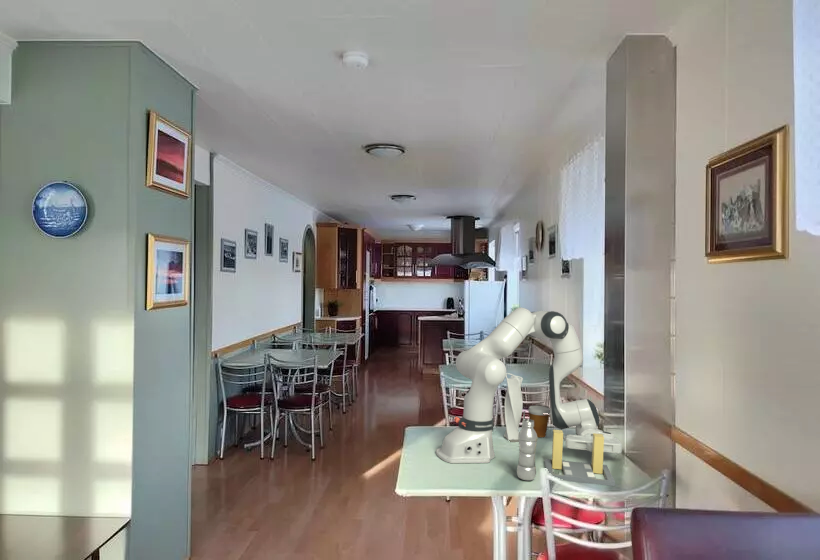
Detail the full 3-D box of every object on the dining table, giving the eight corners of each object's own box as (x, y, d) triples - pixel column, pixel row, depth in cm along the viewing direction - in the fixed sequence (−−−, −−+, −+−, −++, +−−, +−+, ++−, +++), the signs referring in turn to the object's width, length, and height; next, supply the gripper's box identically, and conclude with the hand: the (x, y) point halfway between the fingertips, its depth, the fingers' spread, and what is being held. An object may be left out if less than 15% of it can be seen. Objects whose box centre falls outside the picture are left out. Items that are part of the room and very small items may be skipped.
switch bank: (614, 486, 178) (615, 481, 178) (547, 478, 182) (547, 473, 182) (606, 469, 194) (606, 464, 194) (544, 462, 198) (544, 458, 198)
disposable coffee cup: (540, 440, 225) (541, 411, 225) (522, 434, 232) (523, 407, 232) (554, 436, 231) (554, 408, 231) (535, 431, 238) (536, 404, 238)
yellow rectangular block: (561, 469, 191) (563, 433, 191) (552, 468, 192) (554, 432, 191) (560, 465, 195) (562, 430, 195) (551, 464, 196) (553, 429, 195)
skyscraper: (507, 442, 220) (510, 375, 219) (499, 436, 228) (502, 371, 227) (525, 441, 222) (529, 375, 221) (517, 435, 230) (520, 371, 229)
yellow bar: (602, 473, 188) (604, 437, 188) (592, 472, 189) (594, 436, 189) (600, 469, 192) (602, 434, 192) (591, 468, 193) (592, 433, 193)
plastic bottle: (539, 479, 181) (542, 420, 181) (529, 484, 176) (532, 424, 176) (522, 473, 186) (525, 416, 185) (512, 478, 181) (515, 420, 180)
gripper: (563, 428, 210) (566, 439, 196) (617, 433, 206) (625, 444, 192) (562, 444, 210) (566, 456, 196) (617, 449, 206) (624, 462, 192)
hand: (595, 450), depth 194 cm, fingers closed
